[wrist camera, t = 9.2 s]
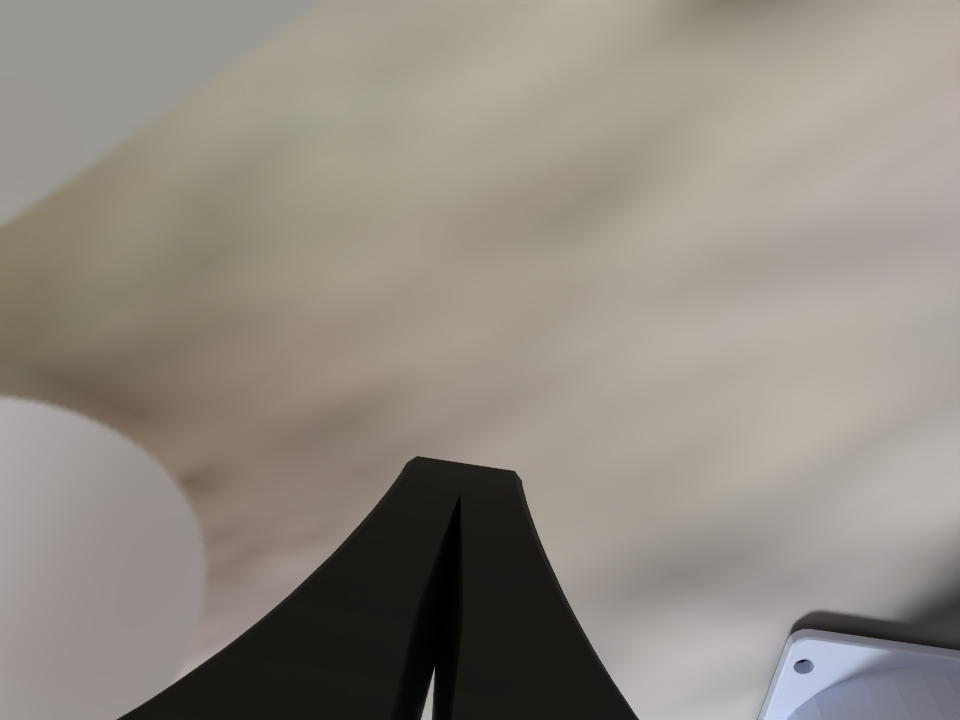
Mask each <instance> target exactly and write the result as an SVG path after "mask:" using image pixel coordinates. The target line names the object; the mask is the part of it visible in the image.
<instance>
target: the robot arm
mask: <svg viewBox="0 0 960 720" xmlns="http://www.w3.org/2000/svg"><path fill="white" fill-rule="evenodd" d="M802 659H807V661H805V662H803V663H796V662H797V661H799V660H802ZM435 662H436V663H435ZM434 667H435V676H434V693H433V710H432V720H639V719H638V717H637V716H636V715H635V713H634V712H633V710H632V709H631V707H630V706H629V704H628V703H627V701H626V700H625V698H624V697H623V695H622V694H621V692H620V691H619V689H618V688H617V686H616V685H615V683H614V682H613V680H612V679H611V677H610V675H609V674H608V672H607V671H606V669H605V667H604V666H603V664H602V662H601V661H600V659H599V657H598V656H597V654H596V652H595V651H594V649H593V647H592V646H591V644H590V642H589V640H588V638H587V636H586V635H585V633H584V631H583V629H582V627H581V626H580V624H579V622H578V620H577V618H576V616H575V615H574V613H573V611H572V609H571V607H570V605H569V603H568V601H567V599H566V597H565V595H564V593H563V591H562V589H561V586H560V584H559V582H558V580H557V578H556V575H555V573H554V571H553V569H552V567H551V565H550V562H549V560H548V558H547V556H546V553H545V551H544V549H543V546H542V544H541V541H540V539H539V536H538V533H537V531H536V528H535V525H534V523H533V520H532V517H531V514H530V511H529V508H528V505H527V501H526V498H525V494H524V490H523V486H522V480H521V479H520V478H519V476H518V475H517V474H516V472H515V471H511V470H504V469H497V468H491V467H484V466H478V465H471V464H465V463H458V462H451V461H445V460H438V459H432V458H425V457H419V456H417V457H415V458H414V459H412V460H410V461H409V462H407V464H406V465H405V467H404V469H403V470H402V472H401V473H400V475H399V476H398V478H397V479H396V481H395V482H394V483H393V485H392V486H391V487H390V489H389V490H388V491H387V493H386V494H385V495H384V496H383V498H382V499H381V500H380V501H379V503H378V504H377V505H376V506H375V507H374V509H373V510H372V511H371V512H370V514H369V515H368V516H367V517H366V518H365V519H364V520H363V521H362V522H361V524H360V525H359V526H358V527H357V528H356V529H355V530H354V531H353V532H352V533H351V535H350V536H349V537H348V538H347V539H346V540H345V541H344V542H343V543H342V545H341V546H340V547H339V548H338V549H337V550H336V551H335V552H334V553H333V554H332V555H331V556H330V557H329V558H328V559H327V560H326V561H325V562H324V563H323V564H322V565H320V566H319V567H318V568H317V569H316V570H315V571H314V572H313V573H312V574H311V575H310V576H309V577H308V578H307V579H306V580H305V581H304V582H303V583H302V584H301V585H300V586H299V587H297V588H296V589H295V590H294V591H293V592H292V593H291V594H290V595H289V596H288V597H287V598H285V599H284V600H283V601H282V602H281V603H280V604H279V605H277V606H276V607H275V608H274V609H273V610H272V611H270V612H269V613H268V614H267V615H266V616H264V617H263V618H262V619H261V620H260V621H258V622H257V623H256V624H255V625H253V626H252V627H251V628H250V629H248V630H247V631H246V632H244V633H243V634H242V635H241V636H239V637H238V638H237V639H236V640H234V641H233V642H232V643H230V644H229V645H228V646H227V647H225V648H224V649H223V650H221V651H220V652H218V653H217V654H215V655H214V656H213V657H211V658H210V659H208V660H207V661H206V662H204V663H203V664H201V665H200V666H199V667H197V668H196V669H194V670H193V671H191V672H190V673H189V674H187V675H186V676H184V677H183V678H182V679H180V680H179V681H177V682H176V683H174V684H173V685H171V686H170V687H168V688H167V689H165V690H164V691H162V692H161V693H159V694H158V695H156V696H155V697H153V698H152V699H150V700H149V701H147V702H145V703H144V704H142V705H141V706H139V707H138V708H136V709H134V710H132V711H131V712H129V713H127V714H125V715H124V716H122V717H120V718H119V719H117V720H421V717H422V713H423V709H424V706H425V702H426V698H427V694H428V690H429V687H430V683H431V679H432V675H433V671H434ZM758 720H960V651H959V650H952V649H945V648H939V647H932V646H925V645H918V644H911V643H904V642H897V641H890V640H883V639H876V638H870V637H863V636H856V635H849V634H842V633H835V632H828V631H821V630H814V629H802V630H799V631H796V632H794V633H793V634H792V635H790V637H789V638H788V640H787V642H786V645H785V647H784V650H783V653H782V656H781V658H780V661H779V664H778V666H777V669H776V672H775V674H774V677H773V680H772V683H771V685H770V688H769V691H768V693H767V696H766V699H765V702H764V704H763V707H762V710H761V712H760V715H759V718H758Z"/></svg>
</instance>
